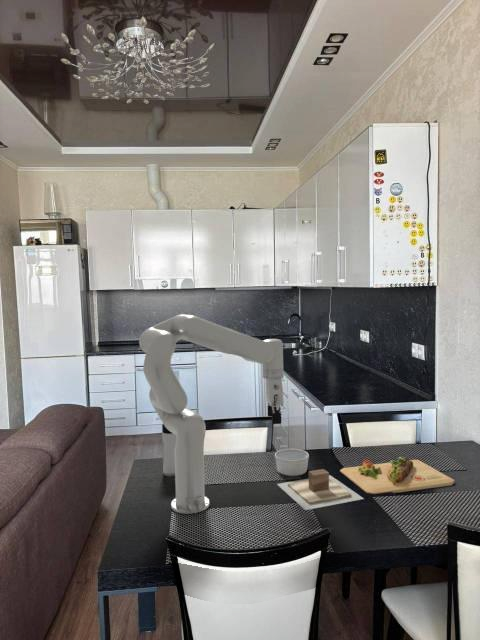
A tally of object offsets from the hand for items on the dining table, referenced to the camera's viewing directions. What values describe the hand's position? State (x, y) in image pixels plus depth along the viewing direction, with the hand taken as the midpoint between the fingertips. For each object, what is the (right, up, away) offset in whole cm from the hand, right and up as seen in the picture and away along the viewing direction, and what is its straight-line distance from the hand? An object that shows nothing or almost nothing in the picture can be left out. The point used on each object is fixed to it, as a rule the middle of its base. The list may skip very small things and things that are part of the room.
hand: (274, 419), depth 174 cm
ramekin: (+8, -23, +12) cm, 27 cm away
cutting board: (+45, -23, +5) cm, 51 cm away
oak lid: (+15, -23, -7) cm, 29 cm away
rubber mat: (+15, -24, -7) cm, 29 cm away
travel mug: (-39, -24, +12) cm, 47 cm away
